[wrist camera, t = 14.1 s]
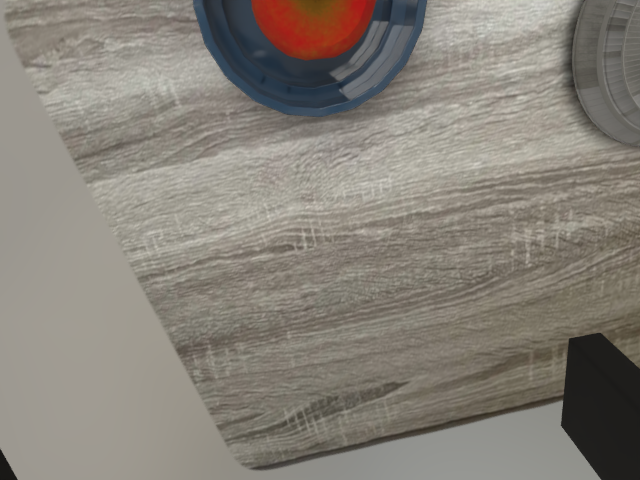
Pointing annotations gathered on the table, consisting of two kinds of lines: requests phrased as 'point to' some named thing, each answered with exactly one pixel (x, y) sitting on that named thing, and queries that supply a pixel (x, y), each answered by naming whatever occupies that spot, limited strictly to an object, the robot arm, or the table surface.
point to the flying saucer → (609, 66)
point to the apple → (313, 25)
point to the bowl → (309, 75)
